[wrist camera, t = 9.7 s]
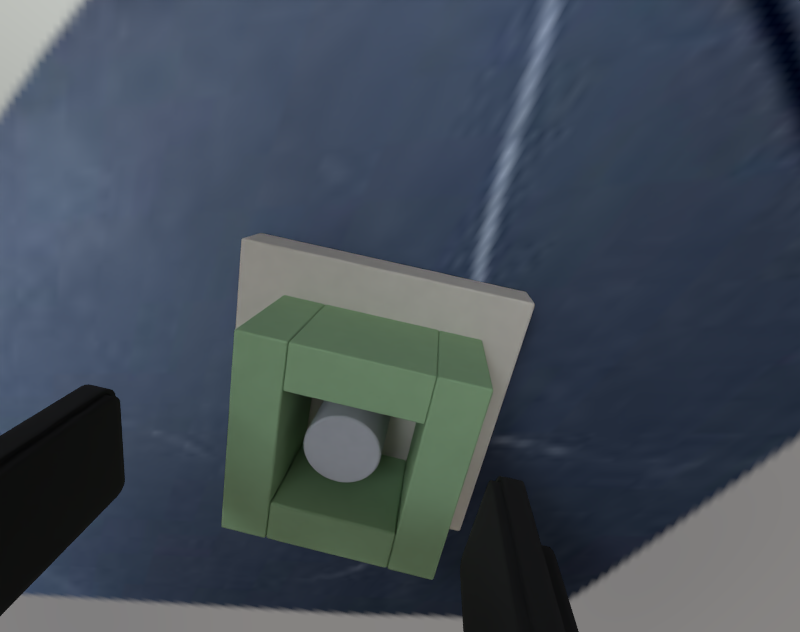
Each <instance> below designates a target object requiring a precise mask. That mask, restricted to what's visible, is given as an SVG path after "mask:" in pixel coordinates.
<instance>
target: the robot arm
mask: <svg viewBox="0 0 800 632" xmlns="http://www.w3.org/2000/svg"><path fill="white" fill-rule="evenodd" d="M124 482H125V475H124V458H123V442H122V425H121V408H120V400H119V398H118V397H116V396H115V393H114V391H113V390H111V389H107V388H102V387H98V386H93V385H84V386H81V387H79V388H78V389H76V390H74V391H73V392H71V393H70V394H68V395H66V396H65V397H63V398H61V399H60V400H58V401H56V402H55V403H53V404H52V405H50V406H48V407H47V408H45V409H43V410H42V411H40V412H38V413H37V414H35V415H34V416H32V417H30V418H29V419H27V420H25V421H24V422H22V423H20V424H19V425H17V426H16V427H14V428H12V429H11V430H9V431H7V432H6V433H4V434H3V435H1V436H0V616H1V615H2V614H3V613H4V612H5V611H6V610H7V609H8V608H9V607H10V606H11V605H12V603H13V602H14V601H15V600H16V599H17V598H18V597H19V596H20V595H21V594H22V593H23V592H24V591H25V590H26V589H27V588H28V587H29V586H30V585H31V584H32V583H33V582H34V581H35V580H36V579H37V578H38V577H39V576H40V575H41V574H42V573H43V572H44V571H45V570H46V569H47V568H48V567H49V566H50V565H51V564H52V563H53V562H54V561H55V559H56V558H57V557H58V556H59V555H60V554H61V553H62V552H63V551H64V550H65V549H66V548H67V547H68V546H69V545H70V544H71V543H72V542H73V541H74V540H75V539H76V538H77V537H78V536H79V535H80V534H81V533H82V532H83V531H84V530H85V529H86V528H87V527H88V526H89V525H90V524H91V523H92V522H93V521H94V520H95V519H96V518H97V517H98V515H99V514H100V513H101V512H102V511H103V510H104V509H105V508H106V507H107V506H108V505H109V504H110V503H111V502H112V501H113V500H114V499H115V498H116V497H117V496H118V495H119V493H120V492H121V490H122V488H123V486H124ZM460 579H461V596H462V614H463V631H464V632H578V629H577V625H576V622H575V619H574V616H573V613H572V609H571V606H570V602H569V599H568V596H567V592H566V589H565V586H564V583H563V579H562V576H561V573H560V570H559V566H558V563H557V560H556V557H555V555H554V552H553V550H552V549H551V548H550V547H547V546H543V545H541V542H540V539H539V535H538V531H537V528H536V524H535V521H534V517H533V513H532V510H531V506H530V503H529V499H528V495H527V492H526V488H525V485H524V483H523V481H521V480H516V479H512V478H507V477H503V476H499V477H498V478H497V480H496V481H492V480H490V481H489V483H488V485H487V488H486V490H485V493H484V496H483V499H482V502H481V505H480V507H479V510H478V513H477V516H476V519H475V521H474V524H473V527H472V530H471V533H470V535H469V538H468V541H467V544H466V547H465V550H464V552H463V555H462V559H461V566H460Z"/></svg>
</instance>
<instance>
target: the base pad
mask: <svg viewBox="0 0 800 632" xmlns="http://www.w3.org/2000/svg"><path fill="white" fill-rule="evenodd" d="M283 295H287V296H291V297H295V298H300V299H304V300H309V301H313V302H317V303H322V304H324V305H331V306H336V307H340V308H344V309H349V310H353V311H357V312H362V313H366V314H371V315H375V316H379V317H384V318H388V319H392V320H397V321H401V322H406V323H410V324H414V325H419V326H423V327H427V328H432V329H436V330H439V331H444V332H449V333H453V334H458V335H462V336H466V337H471V338H475V339H479V340H482V343H483V347H484V351H485V356H486V360H487V365H488V369H489V373H490V378H491V382H492V387H493V394H492V397H491V400H490V403H489V406H488V410H487V413H486V416H485V419H484V422H483V425H482V428H481V431H480V435H479V438H478V441H477V444H476V447H475V450H474V453H473V456H472V460H471V463H470V466H469V469H468V472H467V475H466V478H465V481H464V485H463V488H462V491H461V494H460V497H459V500H458V503H457V506H456V509H455V513H454V516H453V519H452V522H451V525H450V528H449V529H452V530H456V531H460V529H461V526H462V523H463V520H464V517H465V514H466V511H467V508H468V505H469V502H470V499H471V496H472V493H473V490H474V487H475V484H476V481H477V478H478V475H479V472H480V469H481V466H482V463H483V460H484V457H485V454H486V451H487V448H488V445H489V442H490V439H491V436H492V433H493V430H494V427H495V424H496V421H497V418H498V415H499V412H500V409H501V406H502V403H503V400H504V397H505V394H506V391H507V388H508V385H509V382H510V379H511V376H512V373H513V370H514V367H515V363H516V360H517V357H518V354H519V351H520V348H521V345H522V342H523V339H524V336H525V333H526V330H527V327H528V324H529V321H530V318H531V315H532V312H533V309H534V306H535V304H534V302H533V301H532V299H531V298H530V297H529V295H528V294H527V293H526V292H524V291H519V290H515V289H510V288H506V287H501V286H497V285H492V284H488V283H483V282H479V281H474V280H470V279H465V278H461V277H456V276H452V275H447V274H443V273H438V272H434V271H429V270H425V269H420V268H416V267H411V266H407V265H402V264H398V263H394V262H389V261H385V260H380V259H376V258H371V257H367V256H362V255H358V254H353V253H349V252H344V251H340V250H335V249H331V248H326V247H322V246H317V245H313V244H308V243H304V242H299V241H295V240H290V239H286V238H281V237H277V236H272V235H268V234H263V233H259V234H256V235H252V236H249V237H245V238H242V240H241V255H240V270H239V285H238V300H237V315H236V329H237V328H238V327H239V326H241V325H242V324H244V323H245V322H247V321H248V320H249V319H251V318H252V317H254V316H255V315H256V314H258V313H259V312H261V311H262V310H264V309H265V308H266V307H268V306H269V305H271V304H272V303H273V302H275V301H276V300H278V299H279V298H280V297H282V296H283ZM415 425H416V422H413V421H409V420H404V419H400V418H396V417H392V416H388V415H383V414H379V413H375V412H371V411H367V410H362V409H358V408H354V407H350V406H345V405H341V404H337V403H333V402H329V401H324V400H320V399H316V398H311V405H310V412H309V419H308V426H307V431H306V434H305V437H304V444H303V445H304V452H305V456H306V458H307V460H308V462H309V463H310V465H311V466H312V467H313V468H314V469H315V470H316V471H317V472H318V473H319V474H321V475H322V476H324V477H326V478H328V479H330V480H334V481H337V482H345V483H347V482H356V481H360V480H362V479H364V478H366V477H368V476H369V475H370V474H372V473H373V472H374V471H375V469H376V468H377V467H378V465H379V462H380V459H381V455H386V456H390V457H395V458H399V459H403V460H405V461H406V460H407V456H408V452H409V448H410V444H411V440H412V437H413V433H414V429H415Z"/></svg>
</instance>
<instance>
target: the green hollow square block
mask: <svg viewBox="0 0 800 632" xmlns="http://www.w3.org/2000/svg"><path fill="white" fill-rule="evenodd" d="M492 394H493V387H492V382H491V378H490V373H489V369H488V365H487V360H486V356H485V351H484V347H483V343H482V340H479V339H475V338H471V337H466V336H462V335H458V334H453V333H449V332H444V331H439V330H436V329H432V328H427V327H423V326H419V325H414V324H410V323H406V322H401V321H397V320H392V319H388V318H384V317H379V316H375V315H371V314H366V313H362V312H357V311H353V310H349V309H344V308H340V307H336V306H331V305H324V304H322V303H317V302H313V301H309V300H304V299H300V298H295V297H291V296H287V295H283V296H282V297H280V298H279V299H278V300H276V301H275V302H273V303H272V304H271V305H269V306H268V307H266V308H265V309H264V310H262V311H261V312H259V313H258V314H256V315H255V316H254V317H252V318H251V319H249V320H248V321H247V322H245V323H244V324H242V325H241V326H239V327H238V328H237V329H235V331H234V343H233V358H232V373H231V389H230V404H229V419H228V434H227V449H226V464H225V479H224V494H223V510H222V525H221V526H222V527H224V528H228V529H232V530H236V531H240V532H244V533H248V534H252V535H256V536H260V537H266V535H267V538H269V539H273V540H277V541H281V542H285V543H289V544H293V545H297V546H301V547H305V548H309V549H313V550H317V551H321V552H325V553H329V554H333V555H337V556H341V557H345V558H349V559H352V560H356V561H360V562H364V563H368V564H372V565H376V566H380V567H387V565H388V569H391V570H395V571H399V572H403V573H407V574H411V575H415V576H418V577H422V578H426V579H430V580H432V579H433V578H434V575H435V572H436V569H437V566H438V563H439V559H440V556H441V553H442V550H443V547H444V544H445V541H446V538H447V534H448V531H449V528H450V525H451V522H452V519H453V516H454V513H455V509H456V506H457V503H458V500H459V497H460V494H461V491H462V488H463V485H464V481H465V478H466V475H467V472H468V469H469V466H470V463H471V460H472V456H473V453H474V450H475V447H476V444H477V441H478V438H479V435H480V431H481V428H482V425H483V422H484V419H485V416H486V413H487V410H488V406H489V403H490V400H491V397H492ZM311 398H316V399H320V400H324V401H329V402H333V403H337V404H341V405H345V406H350V407H354V408H358V409H362V410H367V411H371V412H375V413H379V414H383V415H388V416H392V417H396V418H400V419H404V420H409V421H413V422H416V425H415V429H414V433H413V437H412V440H411V444H410V448H409V452H408V456H407V460H406V461H405V460H403V459H399V458H395V457H390V456H386V455H381V459H380V462H379V465H378V467H377V468H376V469H375V471H374V472H373V473H372V474H370V475H369V476H368V477H366V478H364V479H362V480H360V481H356V482H347V483H345V482H337V481H334V480H330V479H328V478H326V477H324V476H322V475H321V474H319V473H318V472H317V471H316V470H315V469H314V468H313V467H312V466H311V465H310V463H309V462H308V460H307V458H306V456H305V452H304V445H303V444H304V437H305V434H306V431H307V426H308V419H309V412H310V405H311Z"/></svg>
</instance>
